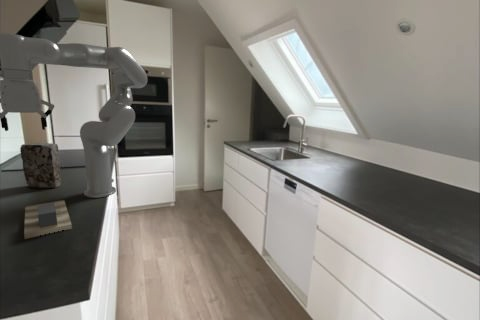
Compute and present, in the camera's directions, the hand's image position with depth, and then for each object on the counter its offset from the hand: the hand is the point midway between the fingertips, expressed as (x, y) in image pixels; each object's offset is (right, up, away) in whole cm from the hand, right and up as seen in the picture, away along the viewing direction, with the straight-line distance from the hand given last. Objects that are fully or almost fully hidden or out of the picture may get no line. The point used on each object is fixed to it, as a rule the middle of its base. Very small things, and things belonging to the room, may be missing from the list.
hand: (25, 129), depth 88 cm
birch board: (+5, -31, +3) cm, 31 cm away
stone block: (-19, -23, +33) cm, 44 cm away
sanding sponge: (+9, -31, -2) cm, 32 cm away
